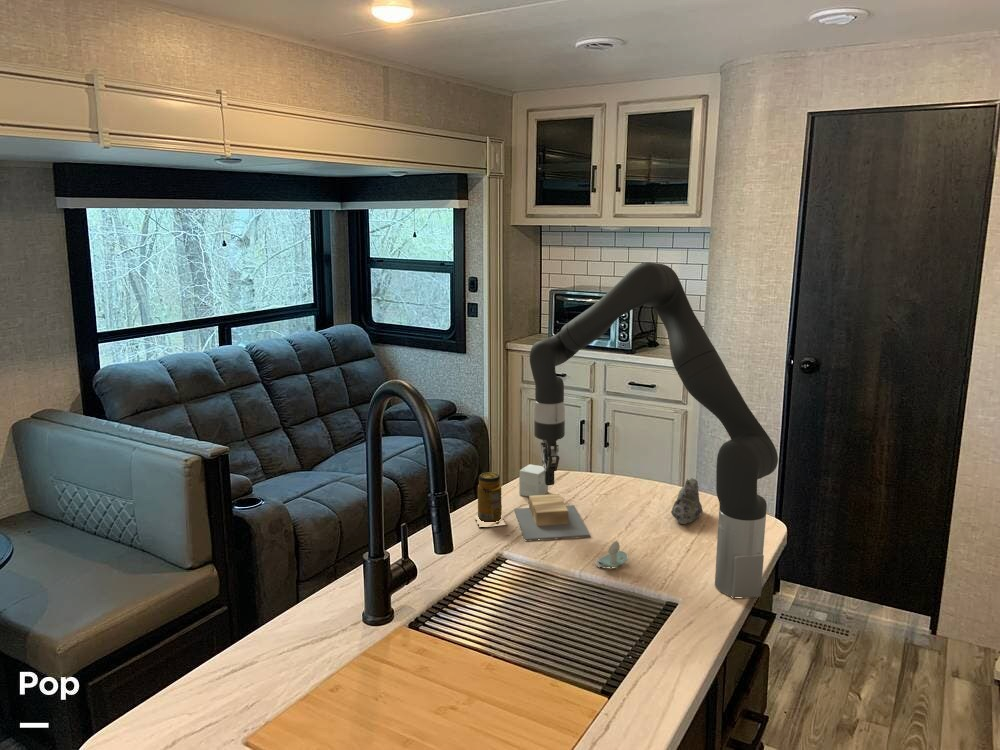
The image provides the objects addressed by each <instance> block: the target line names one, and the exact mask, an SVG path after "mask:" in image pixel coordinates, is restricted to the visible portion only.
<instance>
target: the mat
mask: <svg viewBox="0 0 1000 750" xmlns="http://www.w3.org/2000/svg"><path fill="white" fill-rule="evenodd" d="M565 506H566V507H567V509H568V524H559V525H544V526H537V525H536V523H535V521H534V518H533V516H532V513H531V511H530V509H529V507H523V508H522V507H521V508H514V509H513V511H514V514H515V517H516V519H517V522H519V523H518V526H519V525H520V526H519V528H521V529H520V531H522V532H521V535H522V536H524V537H523V539H525V540H536V541H542V540H541V539H551V540H556V539H555V538H558V539H557V540H560V539H559V538H566V539H577V538H576V537H582V538H591V534H590V532H589V530H588V528H587V527H586V525H585V523H584V521H583V519H582V517H581V515H580V514H579V512H578V510H577V508H576V506H575V505H573V504H571V505H565ZM538 539H540V540H538ZM525 540H524V541H525Z"/></svg>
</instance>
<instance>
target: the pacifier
mask: <svg viewBox="0 0 1000 750" xmlns="http://www.w3.org/2000/svg"><path fill="white" fill-rule="evenodd" d="M620 548H621V547H620V542H619V541H618V540H614V541H613V542H612V543H611V544H610V546H609V549H608V554H605V555H604V556H602V557H599V558H597V559H596V561H595V562H594V565H595V564H596V565H597V566H599V567H598V568H600V567H610V568H612V567H616V568H618V567H619V566H621V565H624V564H625V563H626V561H627V560H628V554H627V553H626V552H625V551H621V550H620ZM599 562H600V563H599ZM596 565H595V566H596ZM618 565H619V566H618ZM597 566H596V567H597ZM617 566H618V567H617Z"/></svg>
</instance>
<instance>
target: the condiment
mask: <svg viewBox="0 0 1000 750" xmlns="http://www.w3.org/2000/svg"><path fill="white" fill-rule="evenodd" d="M500 478H501V477H500V474H498V473H496V472H492V471H490V472H483V473H480V475H479V476H478V485H477V514H478V517H479V519H480V520H481V521H484V522H496V521H499V520H500V519H501V515H502V507H503V506H502V485H501V483H500V482H501V481H500Z"/></svg>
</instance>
